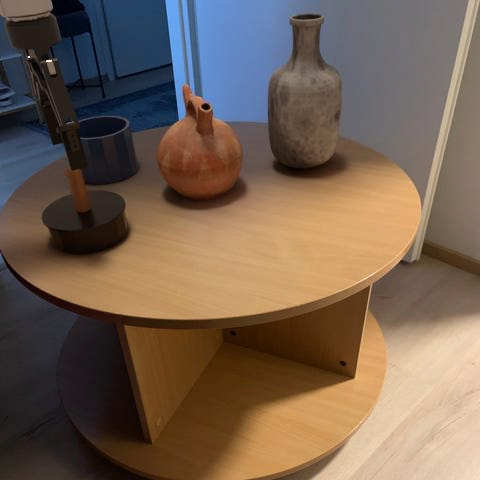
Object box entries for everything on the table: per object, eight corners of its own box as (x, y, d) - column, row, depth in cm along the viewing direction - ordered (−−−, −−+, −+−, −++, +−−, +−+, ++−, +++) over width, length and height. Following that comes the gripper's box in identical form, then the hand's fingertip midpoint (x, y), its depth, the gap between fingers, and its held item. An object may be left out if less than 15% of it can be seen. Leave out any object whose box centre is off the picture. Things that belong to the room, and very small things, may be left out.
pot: (86, 189, 114) (74, 144, 107) (70, 167, 124) (58, 124, 117) (146, 173, 119) (138, 129, 112) (126, 153, 128) (117, 111, 122)
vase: (273, 181, 112) (272, 28, 92) (264, 153, 124) (261, 12, 105) (345, 174, 112) (358, 21, 93) (328, 147, 125) (337, 6, 105)
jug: (155, 179, 116) (139, 87, 103) (230, 165, 120) (224, 74, 107) (172, 215, 103) (155, 115, 90) (255, 198, 106) (251, 99, 93)
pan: (63, 263, 91) (55, 239, 88) (46, 229, 101) (38, 206, 98) (138, 239, 96) (133, 216, 93) (114, 209, 106) (109, 187, 103)
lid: (53, 244, 88) (37, 197, 82) (35, 209, 99) (19, 164, 93) (137, 219, 93) (128, 173, 87) (111, 188, 104) (101, 144, 98)
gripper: (75, 24, 67) (111, 174, 81) (36, 2, 84) (72, 129, 98) (18, 33, 65) (65, 186, 79) (-10, 9, 82) (33, 138, 96)
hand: (69, 155), depth 88 cm, fingers open, 13 cm apart
